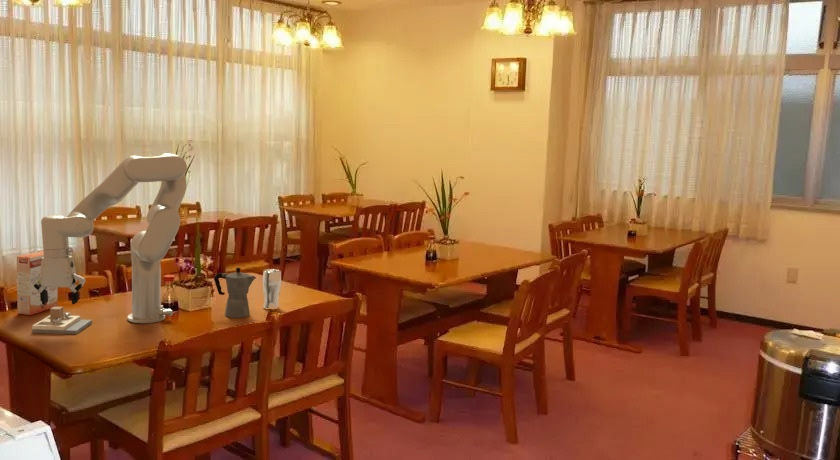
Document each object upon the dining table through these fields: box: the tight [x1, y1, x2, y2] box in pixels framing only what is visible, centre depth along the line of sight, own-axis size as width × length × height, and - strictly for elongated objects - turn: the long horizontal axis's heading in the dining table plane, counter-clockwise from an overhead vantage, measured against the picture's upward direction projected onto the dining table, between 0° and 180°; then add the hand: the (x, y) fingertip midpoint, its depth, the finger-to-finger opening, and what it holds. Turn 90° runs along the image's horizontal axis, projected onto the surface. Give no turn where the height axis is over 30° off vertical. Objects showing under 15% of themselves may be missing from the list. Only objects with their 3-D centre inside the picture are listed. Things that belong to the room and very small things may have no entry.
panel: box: [31, 306, 81, 330], centre depth 237 cm, size 10×13×6 cm
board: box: [31, 318, 93, 335], centre depth 237 cm, size 14×13×1 cm
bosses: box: [53, 312, 72, 325], centre depth 237 cm, size 3×10×3 cm, turn 4°
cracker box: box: [16, 250, 59, 316], centre depth 255 cm, size 14×6×21 cm, turn 168°
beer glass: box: [262, 268, 282, 308], centre depth 275 cm, size 7×7×15 cm
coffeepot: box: [213, 267, 257, 319], centre depth 263 cm, size 15×9×18 cm, turn 92°
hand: (60, 303), depth 237 cm, fingers open, 9 cm apart
